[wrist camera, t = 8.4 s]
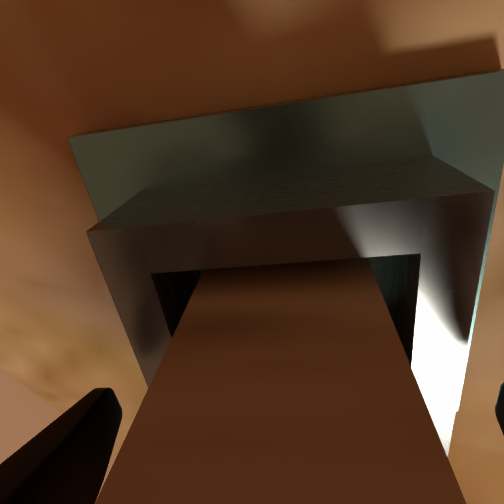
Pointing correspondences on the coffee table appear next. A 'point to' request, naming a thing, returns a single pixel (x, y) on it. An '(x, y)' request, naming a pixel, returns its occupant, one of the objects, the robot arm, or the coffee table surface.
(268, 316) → the peg
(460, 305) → the socket
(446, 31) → the coffee table surface
